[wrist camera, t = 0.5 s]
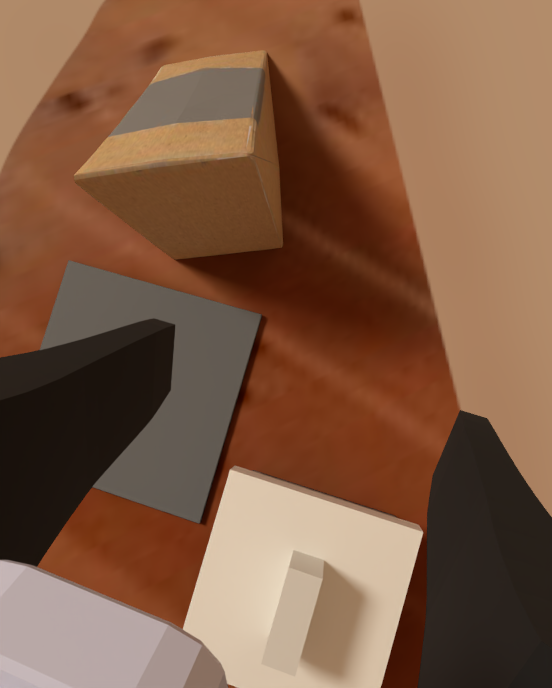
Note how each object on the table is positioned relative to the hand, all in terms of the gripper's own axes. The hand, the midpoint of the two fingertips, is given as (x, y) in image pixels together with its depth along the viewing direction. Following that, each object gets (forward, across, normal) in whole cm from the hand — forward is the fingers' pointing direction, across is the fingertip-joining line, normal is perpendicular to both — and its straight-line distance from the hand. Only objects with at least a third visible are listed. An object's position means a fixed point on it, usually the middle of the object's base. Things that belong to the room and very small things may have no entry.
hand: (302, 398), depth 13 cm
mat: (+17, +14, +16) cm, 27 cm away
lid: (+10, -1, +20) cm, 23 cm away
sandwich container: (+28, +14, +1) cm, 31 cm away
